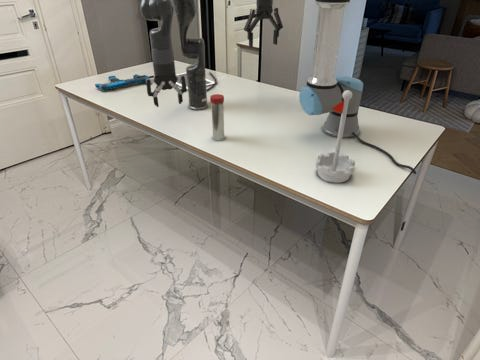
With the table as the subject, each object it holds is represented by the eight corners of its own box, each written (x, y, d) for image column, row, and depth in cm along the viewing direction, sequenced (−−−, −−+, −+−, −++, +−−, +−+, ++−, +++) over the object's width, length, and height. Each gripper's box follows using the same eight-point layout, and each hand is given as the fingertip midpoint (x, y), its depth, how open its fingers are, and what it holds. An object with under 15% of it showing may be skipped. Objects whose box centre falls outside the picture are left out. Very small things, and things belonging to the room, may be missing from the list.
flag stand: (338, 161, 126) (352, 82, 110) (360, 179, 116) (380, 94, 100) (307, 168, 122) (318, 86, 106) (328, 187, 112) (342, 100, 96)
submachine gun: (140, 68, 224) (158, 75, 207) (141, 74, 226) (159, 81, 209) (87, 79, 205) (103, 86, 189) (89, 85, 207) (104, 93, 190)
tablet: (161, 78, 216) (161, 77, 216) (188, 72, 227) (188, 71, 227) (189, 90, 196) (189, 89, 195) (217, 83, 207) (217, 82, 206)
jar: (211, 139, 143) (209, 98, 133) (215, 134, 147) (213, 94, 137) (222, 141, 141) (220, 100, 132) (226, 136, 145) (224, 96, 136)
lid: (208, 103, 134) (208, 98, 133) (213, 98, 138) (213, 93, 137) (221, 104, 132) (221, 99, 131) (226, 99, 137) (225, 94, 136)
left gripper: (181, 56, 125) (185, 99, 133) (141, 59, 121) (148, 103, 129) (185, 61, 119) (189, 105, 127) (143, 65, 115) (150, 110, 123)
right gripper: (283, -6, 163) (280, 41, 174) (236, -3, 154) (237, 46, 166) (292, -4, 157) (288, 44, 169) (243, -2, 148) (243, 49, 160)
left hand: (168, 104), depth 128 cm, fingers open, 8 cm apart
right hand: (263, 45), depth 167 cm, fingers open, 13 cm apart
